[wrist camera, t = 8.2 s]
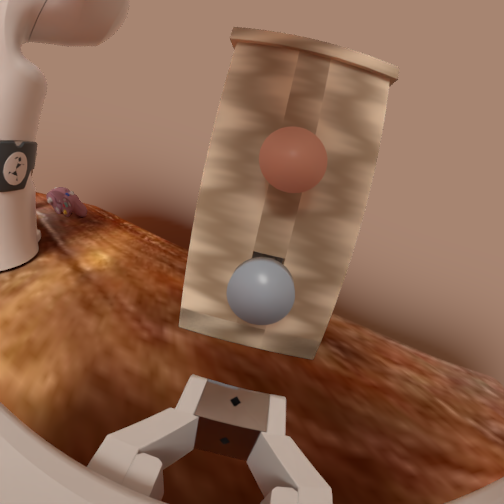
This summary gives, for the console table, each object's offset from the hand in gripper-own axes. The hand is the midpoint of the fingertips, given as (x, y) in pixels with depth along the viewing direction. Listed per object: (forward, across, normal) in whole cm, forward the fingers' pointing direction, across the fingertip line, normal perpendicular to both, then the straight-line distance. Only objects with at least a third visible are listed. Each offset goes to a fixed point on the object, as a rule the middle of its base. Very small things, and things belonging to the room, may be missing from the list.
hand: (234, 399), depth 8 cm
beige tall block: (+16, 0, +7) cm, 17 cm away
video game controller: (+36, +42, +7) cm, 56 cm away
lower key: (+13, 0, +2) cm, 13 cm away
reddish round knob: (+14, 0, -6) cm, 16 cm away
